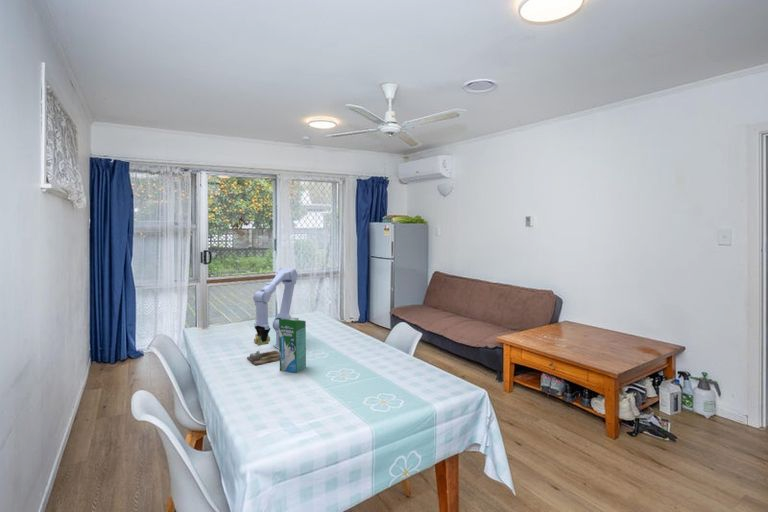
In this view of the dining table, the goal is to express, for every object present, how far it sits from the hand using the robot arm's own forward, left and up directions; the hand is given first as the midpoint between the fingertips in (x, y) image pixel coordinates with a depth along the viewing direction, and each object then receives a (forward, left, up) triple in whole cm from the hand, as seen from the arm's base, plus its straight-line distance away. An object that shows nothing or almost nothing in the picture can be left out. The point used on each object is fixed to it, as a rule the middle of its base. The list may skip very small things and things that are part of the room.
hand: (262, 340), depth 205 cm
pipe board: (0, +4, -9) cm, 10 cm away
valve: (0, 0, -2) cm, 2 cm away
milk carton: (-5, +24, -9) cm, 26 cm away
